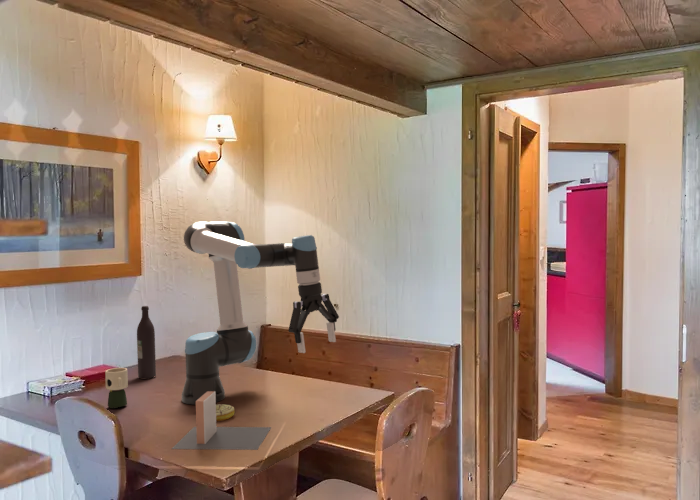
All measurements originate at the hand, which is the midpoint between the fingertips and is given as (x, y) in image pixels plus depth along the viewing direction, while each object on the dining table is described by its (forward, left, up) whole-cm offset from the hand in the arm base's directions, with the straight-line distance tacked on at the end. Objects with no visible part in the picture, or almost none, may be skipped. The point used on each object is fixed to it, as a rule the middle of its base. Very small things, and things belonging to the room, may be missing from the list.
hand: (317, 346), depth 188 cm
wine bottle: (-71, -58, -22) cm, 94 cm away
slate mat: (+15, -31, -22) cm, 41 cm away
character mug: (-30, -65, -22) cm, 75 cm away
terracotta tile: (+13, -36, -21) cm, 44 cm away
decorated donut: (-6, -32, -22) cm, 40 cm away
